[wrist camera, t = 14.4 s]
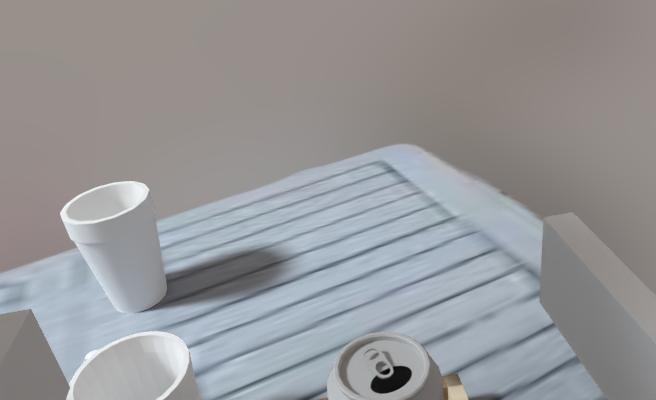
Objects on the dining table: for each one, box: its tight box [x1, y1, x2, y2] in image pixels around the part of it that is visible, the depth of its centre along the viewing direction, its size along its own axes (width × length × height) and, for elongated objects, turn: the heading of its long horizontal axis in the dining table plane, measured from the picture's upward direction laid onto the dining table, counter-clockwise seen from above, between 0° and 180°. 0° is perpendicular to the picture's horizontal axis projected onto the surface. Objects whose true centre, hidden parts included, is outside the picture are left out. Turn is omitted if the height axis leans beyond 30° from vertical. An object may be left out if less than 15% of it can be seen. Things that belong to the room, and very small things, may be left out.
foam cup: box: [60, 181, 167, 313], centre depth 65 cm, size 10×9×13 cm
